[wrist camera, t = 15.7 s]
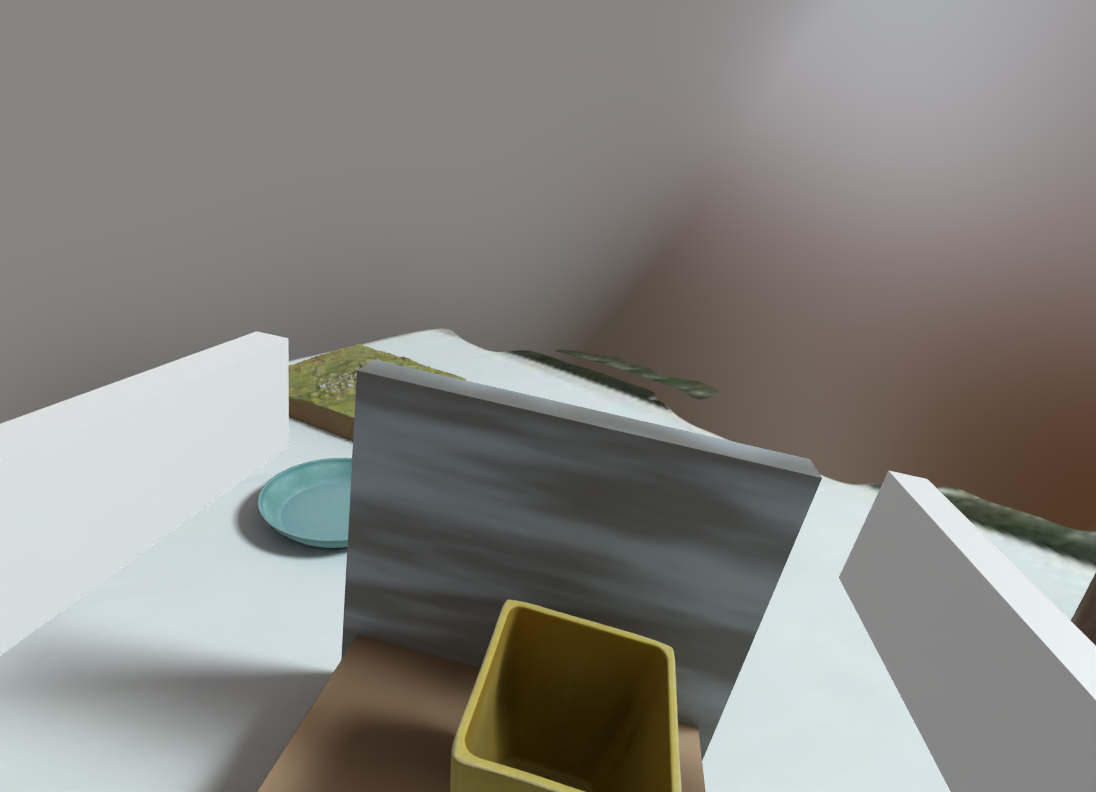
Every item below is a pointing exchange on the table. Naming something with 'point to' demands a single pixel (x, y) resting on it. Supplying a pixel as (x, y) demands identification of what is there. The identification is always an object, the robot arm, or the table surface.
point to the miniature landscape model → (336, 386)
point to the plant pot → (1087, 613)
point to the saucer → (310, 502)
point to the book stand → (531, 563)
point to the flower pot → (568, 710)
